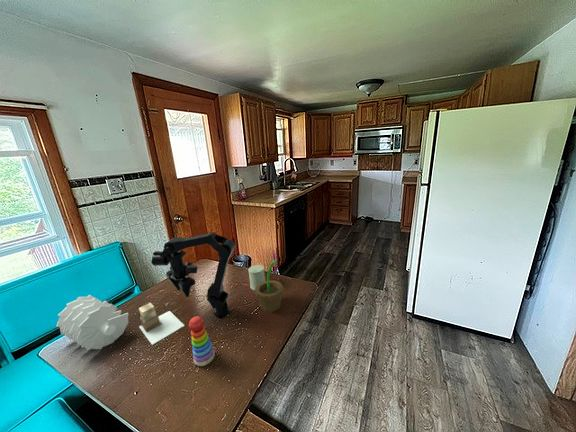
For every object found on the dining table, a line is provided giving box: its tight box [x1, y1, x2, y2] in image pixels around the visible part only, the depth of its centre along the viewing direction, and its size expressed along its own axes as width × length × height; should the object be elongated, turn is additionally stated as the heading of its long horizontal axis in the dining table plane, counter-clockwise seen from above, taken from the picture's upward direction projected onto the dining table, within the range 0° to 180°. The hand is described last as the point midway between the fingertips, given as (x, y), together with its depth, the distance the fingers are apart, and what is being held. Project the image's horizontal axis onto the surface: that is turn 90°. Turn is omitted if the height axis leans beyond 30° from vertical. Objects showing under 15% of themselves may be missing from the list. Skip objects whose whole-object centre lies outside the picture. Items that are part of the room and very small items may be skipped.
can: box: [248, 264, 266, 291], centre depth 134 cm, size 9×9×12 cm
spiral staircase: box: [55, 294, 130, 351], centre depth 101 cm, size 18×18×25 cm
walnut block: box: [139, 313, 160, 332], centre depth 108 cm, size 6×6×5 cm
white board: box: [138, 310, 185, 346], centre depth 108 cm, size 17×14×1 cm
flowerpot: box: [254, 250, 284, 313], centre depth 113 cm, size 14×14×30 cm
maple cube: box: [138, 302, 157, 322], centre depth 106 cm, size 5×5×5 cm
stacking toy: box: [188, 315, 216, 367], centre depth 87 cm, size 8×8×19 cm
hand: (183, 293), depth 112 cm, fingers open, 9 cm apart
